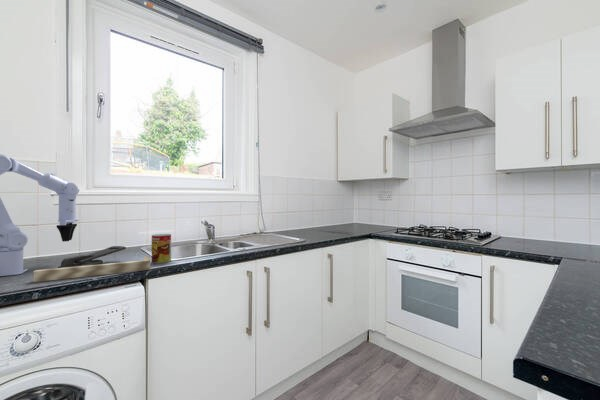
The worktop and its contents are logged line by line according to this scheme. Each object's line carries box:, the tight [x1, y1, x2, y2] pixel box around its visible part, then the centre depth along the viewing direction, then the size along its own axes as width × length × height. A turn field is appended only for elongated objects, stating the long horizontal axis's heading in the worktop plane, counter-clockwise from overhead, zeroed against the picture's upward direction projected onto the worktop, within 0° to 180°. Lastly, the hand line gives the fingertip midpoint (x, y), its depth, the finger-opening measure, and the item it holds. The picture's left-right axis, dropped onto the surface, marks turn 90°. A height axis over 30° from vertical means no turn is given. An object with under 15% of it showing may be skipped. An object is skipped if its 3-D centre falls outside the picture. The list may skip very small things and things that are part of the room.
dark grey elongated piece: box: [57, 245, 127, 268], centre depth 114 cm, size 9×7×25 cm
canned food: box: [151, 233, 172, 264], centre depth 123 cm, size 8×8×12 cm
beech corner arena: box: [33, 254, 151, 283], centre depth 105 cm, size 34×13×4 cm, turn 119°
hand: (67, 240), depth 120 cm, fingers open, 4 cm apart
